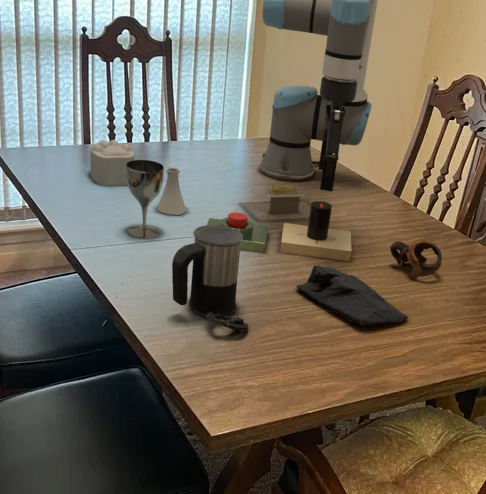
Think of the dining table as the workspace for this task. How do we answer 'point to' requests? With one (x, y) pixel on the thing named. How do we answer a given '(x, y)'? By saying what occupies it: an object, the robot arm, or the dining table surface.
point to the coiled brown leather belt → (416, 257)
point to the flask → (172, 195)
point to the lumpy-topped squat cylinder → (110, 162)
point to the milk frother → (210, 274)
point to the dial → (319, 220)
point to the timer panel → (316, 243)
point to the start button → (237, 219)
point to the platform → (283, 202)
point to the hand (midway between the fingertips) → (325, 179)
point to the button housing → (247, 234)
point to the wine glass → (144, 190)
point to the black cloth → (349, 297)
